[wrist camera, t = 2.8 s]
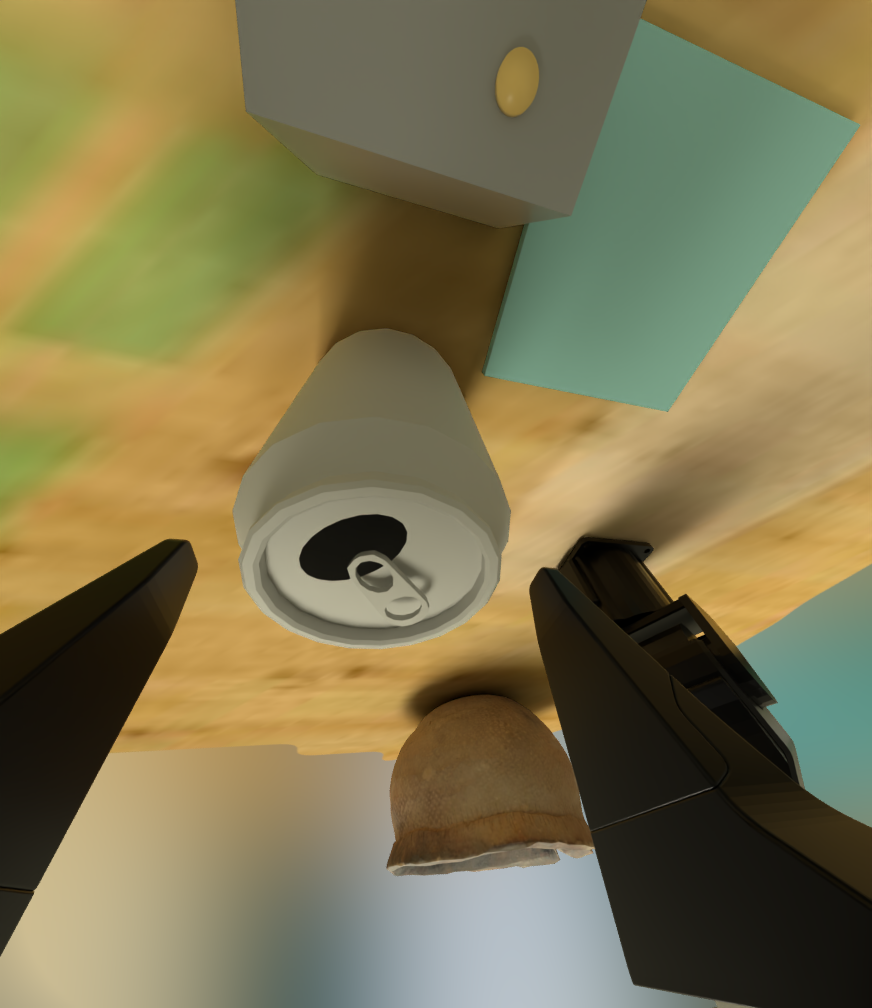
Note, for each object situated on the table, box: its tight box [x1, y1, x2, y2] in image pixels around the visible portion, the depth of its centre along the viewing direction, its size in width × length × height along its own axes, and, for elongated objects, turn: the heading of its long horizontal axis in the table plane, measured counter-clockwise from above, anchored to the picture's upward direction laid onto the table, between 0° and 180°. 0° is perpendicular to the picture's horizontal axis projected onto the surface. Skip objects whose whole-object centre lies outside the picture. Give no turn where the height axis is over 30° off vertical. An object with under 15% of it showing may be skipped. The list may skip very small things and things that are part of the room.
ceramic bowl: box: [387, 695, 595, 876], centre depth 39 cm, size 22×22×15 cm
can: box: [233, 328, 511, 649], centre depth 12 cm, size 8×8×12 cm
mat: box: [482, 18, 860, 412], centre depth 14 cm, size 11×11×1 cm
